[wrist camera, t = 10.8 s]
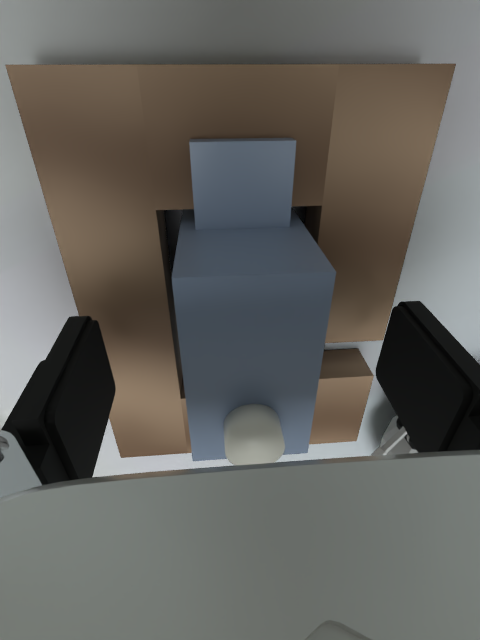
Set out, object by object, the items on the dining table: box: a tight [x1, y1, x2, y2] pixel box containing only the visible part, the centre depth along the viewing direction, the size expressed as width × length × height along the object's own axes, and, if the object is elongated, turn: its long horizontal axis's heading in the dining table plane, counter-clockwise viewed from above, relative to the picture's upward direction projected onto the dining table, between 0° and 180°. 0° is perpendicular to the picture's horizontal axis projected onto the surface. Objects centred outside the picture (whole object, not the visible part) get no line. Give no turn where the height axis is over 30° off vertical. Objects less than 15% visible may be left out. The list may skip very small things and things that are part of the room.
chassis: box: [6, 64, 456, 458], centre depth 15 cm, size 16×12×2 cm
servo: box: [172, 138, 336, 465], centre depth 13 cm, size 12×4×7 cm, turn 0°
